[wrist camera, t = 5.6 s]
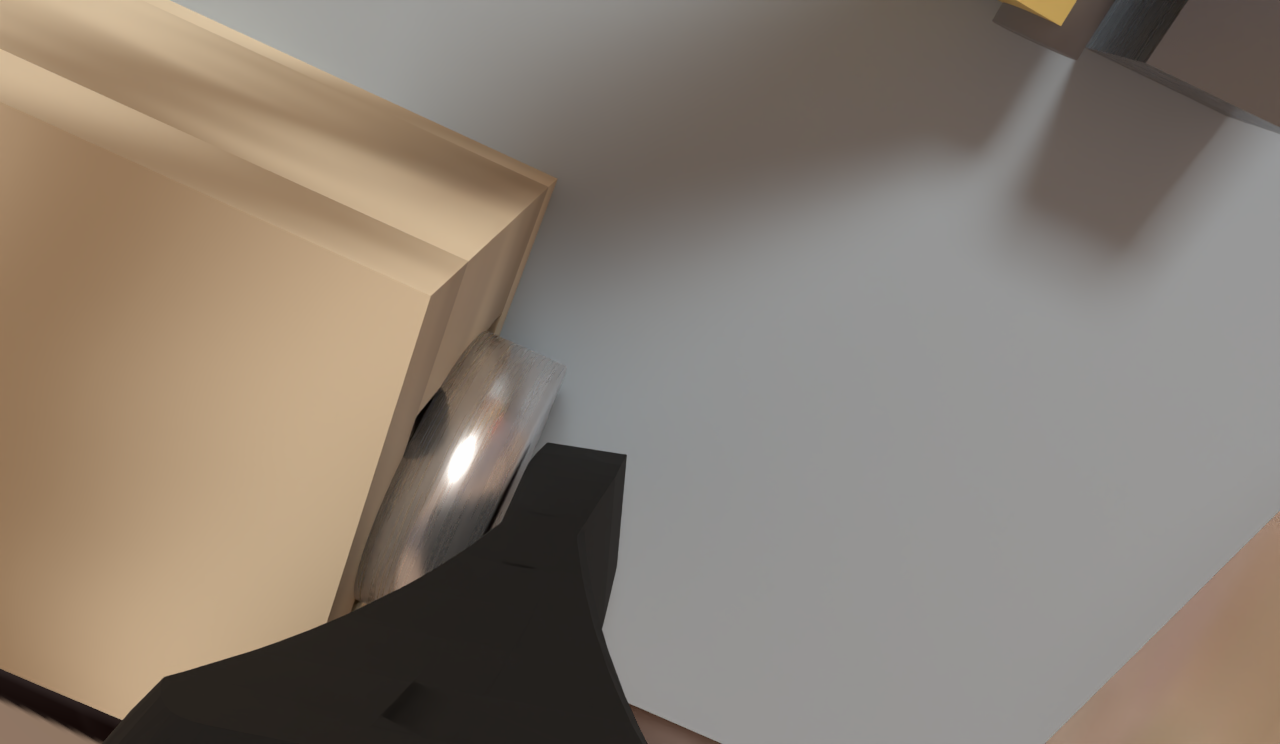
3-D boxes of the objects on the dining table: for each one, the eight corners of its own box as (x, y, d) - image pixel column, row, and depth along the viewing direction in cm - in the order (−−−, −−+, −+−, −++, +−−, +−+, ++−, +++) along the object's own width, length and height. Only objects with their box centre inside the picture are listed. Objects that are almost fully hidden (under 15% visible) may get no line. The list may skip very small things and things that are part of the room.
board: (1788, -76, 9) (1875, -82, 8) (939, 804, 17) (946, 840, 16) (-21, -996, 8) (-95, -1088, 8) (-41, 377, 16) (-79, 397, 15)
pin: (588, 323, 12) (510, 465, 9) (505, 517, 14) (412, 699, 11) (-188, -29, 12) (-601, -28, 8) (-172, 218, 14) (-505, 305, 10)
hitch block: (557, 178, 12) (430, 296, 7) (415, 559, 15) (275, 784, 11) (89, -38, 11) (-316, -40, 7) (54, 401, 15) (-233, 570, 11)
